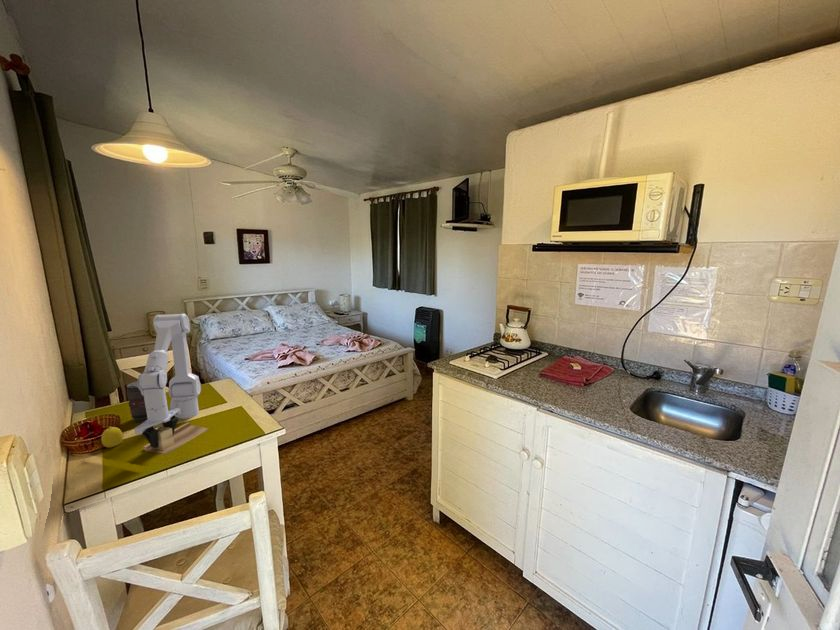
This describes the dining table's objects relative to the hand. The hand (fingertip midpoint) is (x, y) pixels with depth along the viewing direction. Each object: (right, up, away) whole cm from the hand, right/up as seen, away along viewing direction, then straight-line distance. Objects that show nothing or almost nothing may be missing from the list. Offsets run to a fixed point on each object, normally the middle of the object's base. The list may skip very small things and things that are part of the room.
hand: (162, 442), depth 119 cm
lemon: (-18, -3, +2) cm, 18 cm away
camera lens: (-24, +1, +22) cm, 33 cm away
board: (+2, -2, +5) cm, 6 cm away
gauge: (0, -1, 0) cm, 1 cm away
